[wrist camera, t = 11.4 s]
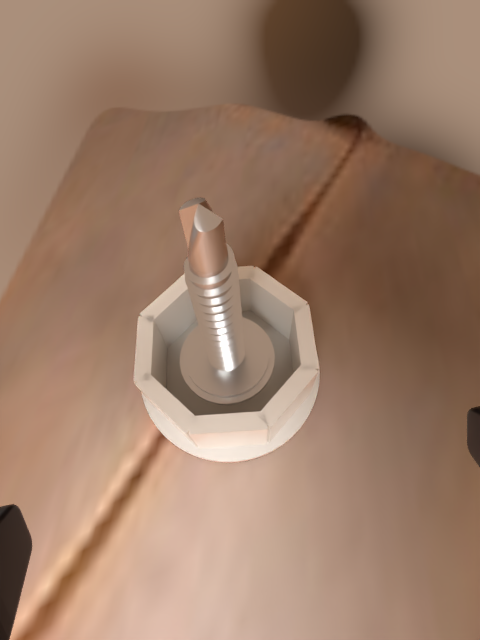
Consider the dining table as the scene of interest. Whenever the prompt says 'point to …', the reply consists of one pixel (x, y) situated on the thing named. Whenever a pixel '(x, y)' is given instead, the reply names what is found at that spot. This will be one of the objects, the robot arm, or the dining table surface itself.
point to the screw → (219, 317)
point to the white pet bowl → (240, 419)
